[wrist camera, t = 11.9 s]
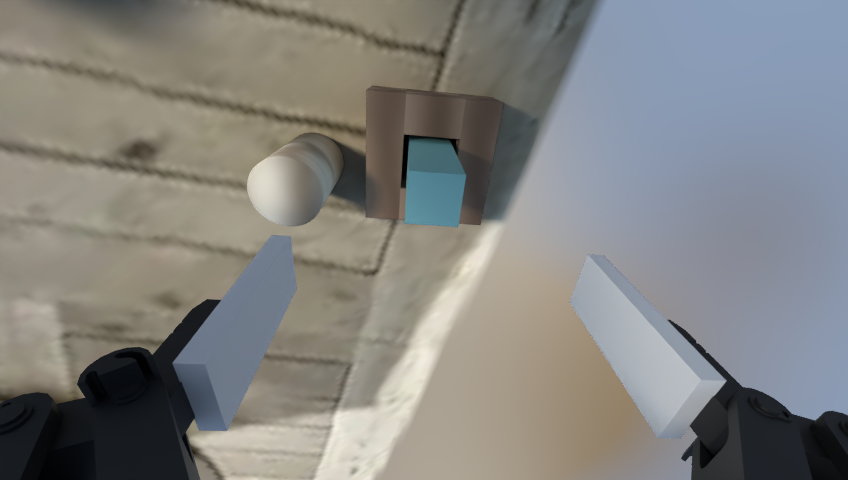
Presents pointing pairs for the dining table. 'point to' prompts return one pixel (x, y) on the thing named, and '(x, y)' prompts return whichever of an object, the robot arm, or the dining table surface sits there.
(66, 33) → the dining table surface
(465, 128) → the socket block
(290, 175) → the round dowel
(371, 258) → the dining table surface
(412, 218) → the square bit
